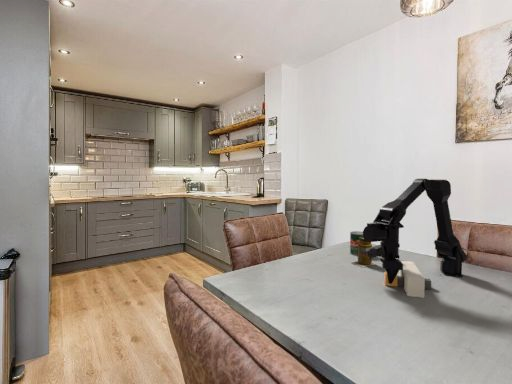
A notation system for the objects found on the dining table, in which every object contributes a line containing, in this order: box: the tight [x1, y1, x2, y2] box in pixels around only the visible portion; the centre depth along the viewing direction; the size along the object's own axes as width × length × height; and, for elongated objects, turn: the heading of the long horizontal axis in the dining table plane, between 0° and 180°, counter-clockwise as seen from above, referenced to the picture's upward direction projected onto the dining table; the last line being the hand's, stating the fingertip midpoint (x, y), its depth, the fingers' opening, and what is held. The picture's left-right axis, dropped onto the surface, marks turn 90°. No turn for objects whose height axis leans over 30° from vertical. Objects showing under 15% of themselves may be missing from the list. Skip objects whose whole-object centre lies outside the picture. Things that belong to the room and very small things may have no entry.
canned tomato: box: [349, 230, 363, 256], centre depth 151 cm, size 8×8×11 cm
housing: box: [398, 260, 426, 299], centre depth 106 cm, size 5×20×6 cm, turn 161°
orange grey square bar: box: [383, 270, 432, 290], centre depth 107 cm, size 15×4×4 cm, turn 72°
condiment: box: [351, 237, 375, 268], centre depth 134 cm, size 7×8×12 cm
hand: (389, 281), depth 108 cm, fingers closed on orange grey square bar, 4 cm apart
